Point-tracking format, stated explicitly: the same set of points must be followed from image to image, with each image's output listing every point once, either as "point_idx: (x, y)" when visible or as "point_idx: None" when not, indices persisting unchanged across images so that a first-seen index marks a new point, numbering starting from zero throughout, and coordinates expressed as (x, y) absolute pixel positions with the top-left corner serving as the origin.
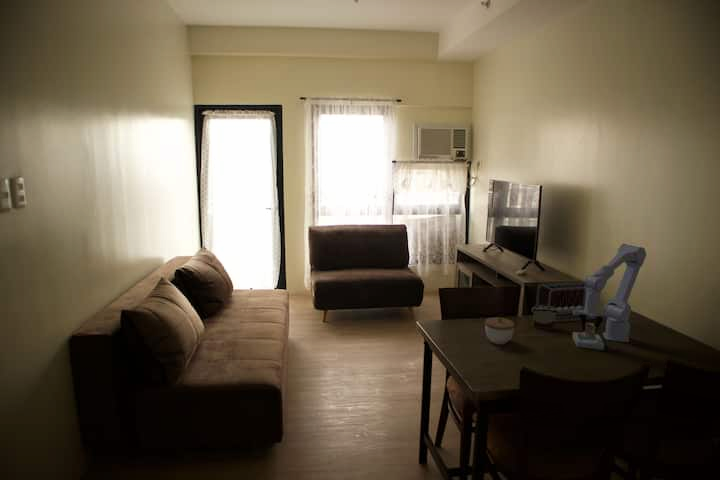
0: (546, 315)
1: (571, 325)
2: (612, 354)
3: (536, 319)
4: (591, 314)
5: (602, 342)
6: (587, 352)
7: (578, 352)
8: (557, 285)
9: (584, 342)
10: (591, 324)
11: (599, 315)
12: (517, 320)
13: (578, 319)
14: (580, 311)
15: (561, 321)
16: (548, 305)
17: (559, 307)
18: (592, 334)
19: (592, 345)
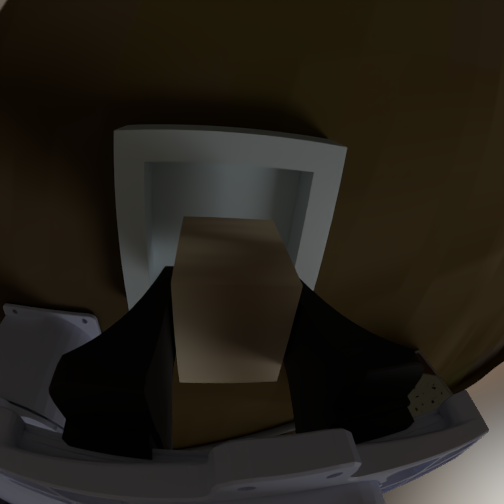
0: None
1: (244, 416)
2: (86, 66)
3: (428, 380)
4: (328, 478)
5: (119, 186)
6: (276, 49)
7: (344, 44)
8: None
9: (288, 142)
10: (205, 360)
11: (102, 472)
12: None
13: (205, 449)
14: (428, 465)
15: (278, 428)
16: None
17: None
18: (204, 233)
19: (216, 128)
